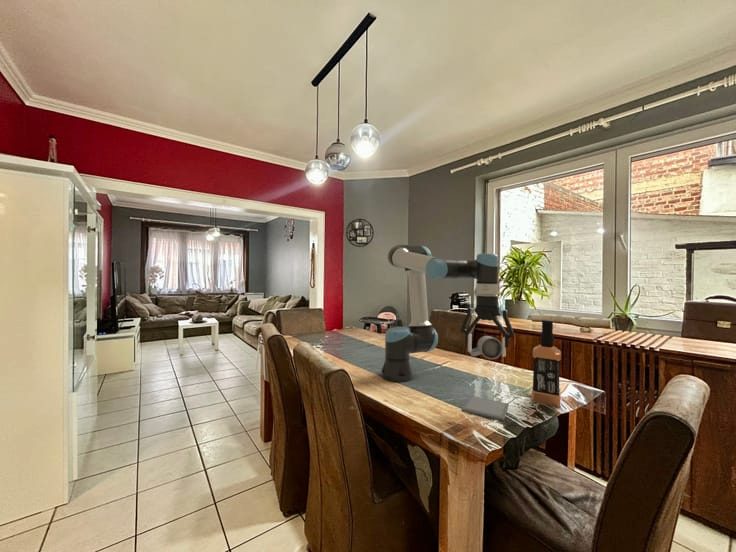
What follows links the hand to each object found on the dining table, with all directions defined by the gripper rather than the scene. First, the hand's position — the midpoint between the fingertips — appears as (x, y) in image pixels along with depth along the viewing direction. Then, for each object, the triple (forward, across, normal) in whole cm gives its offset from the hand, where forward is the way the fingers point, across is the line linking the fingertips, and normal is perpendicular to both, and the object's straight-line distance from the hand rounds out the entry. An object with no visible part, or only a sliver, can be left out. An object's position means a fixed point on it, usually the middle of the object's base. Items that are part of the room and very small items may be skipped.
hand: (486, 353), depth 114 cm
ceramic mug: (+1, 0, 0) cm, 1 cm away
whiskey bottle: (+21, +19, +21) cm, 35 cm away
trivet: (+20, 0, 0) cm, 20 cm away
